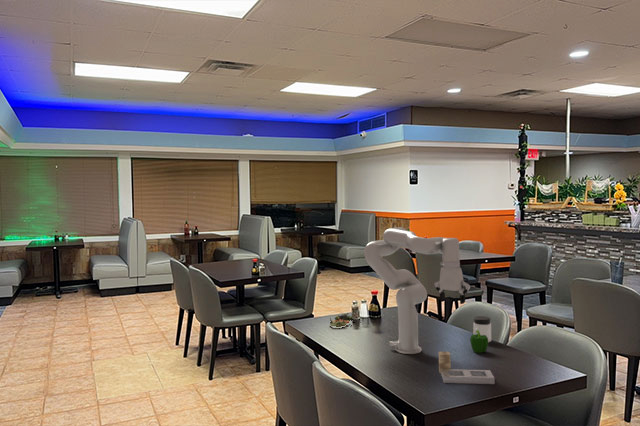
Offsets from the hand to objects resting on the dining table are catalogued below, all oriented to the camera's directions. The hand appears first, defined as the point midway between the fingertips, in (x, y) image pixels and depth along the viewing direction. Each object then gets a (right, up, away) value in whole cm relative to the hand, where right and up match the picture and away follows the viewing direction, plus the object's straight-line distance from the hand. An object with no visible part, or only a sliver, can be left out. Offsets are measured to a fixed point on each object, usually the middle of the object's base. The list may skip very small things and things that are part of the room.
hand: (452, 302), depth 230 cm
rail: (0, -28, -22) cm, 35 cm away
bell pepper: (+17, -27, +14) cm, 35 cm away
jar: (+24, -26, +33) cm, 48 cm away
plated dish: (-46, -27, +72) cm, 90 cm away
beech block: (-6, -28, -12) cm, 31 cm away
